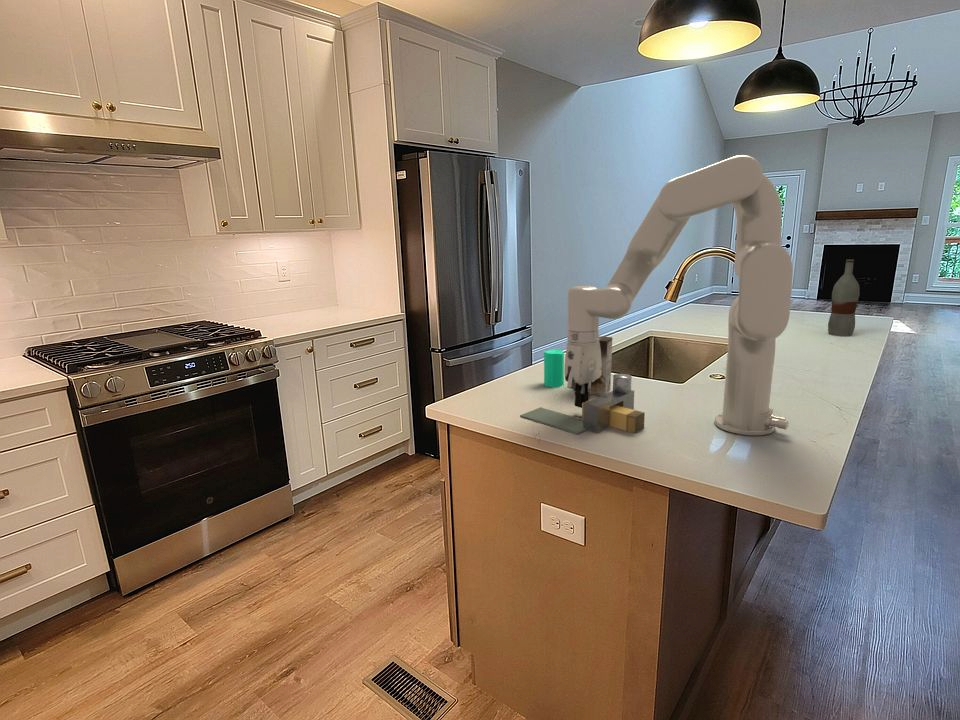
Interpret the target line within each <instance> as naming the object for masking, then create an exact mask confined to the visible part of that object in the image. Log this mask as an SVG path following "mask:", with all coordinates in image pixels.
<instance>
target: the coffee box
mask: <svg viewBox="0 0 960 720" xmlns="http://www.w3.org/2000/svg"><path fill="white" fill-rule="evenodd" d="M598 340H599V343H600V348H601V364H602V372H601V376H600V377H599V378H598V379H596V380H595V381H594V382H592V384H591V389H590V391H589V395H596V396H602V395H604V394H607V393H609V392H611V390H612V389H611V383H612V382H611V381H612V360H613V357H612V356H613V355H612V353H613V337H612V336H601V335H600V336H599V335H598Z"/></svg>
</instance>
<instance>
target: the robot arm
mask: <svg viewBox="0 0 960 720" xmlns="http://www.w3.org/2000/svg"><path fill="white" fill-rule="evenodd" d="M729 204H730V205H731V206H732V207H733V209H734V211H735V216H736V237H735V238H736V239H735V240H736V241H735V255H734V264H733V267H734V274H735V275H736V277H737V278H738V295H737V296H736V298H735V299H734V300H733V301H732V303H731V305H730V307H729V311H728V332H727V333H728V334H727V336H728V340H727V353H726V366H725V379H724V390H723V404H722V413H719V414H717V415H716V416H715V417H714V423H715V424H714V425H716V427H718V428H719V429H721V430H723V431H726V432H729V433H731V434H732V433H733V434H737V435H744V436H764V435H769V434H771V433H773V432H775V428H777V429H782V430H787V429H788V427H789V421H788V420H787V419H786V418H785V417H781V416H776V415H775V414H773V413H774V409H773V408H770V401H771V394H772V393H771V392H772V384H773V374H774V373H773V372H774V363H775V356H776V354H775V353H776V339H778V337H780V336H781V335H782V334H783V333H784V332H785V330H786V329H787V326H788V324H789V319H790V313H791V303H792V289H793V274H794V273H793V272H794V271H793V267H794V266H793V261H792V258H791V254H790V253H789V252H788V251H787V249H786V248H785V247H783V246H782V232H783V231H782V217H783V215H782V202H781V199H780V195H779V192H778V190H777V189H776V186H775V185H774V183H772V181H771V180H770V178H768V176H766V175H765V174H764V172H763V167H762V165H761V163H760V162H759V160H757V159H756V158H755V157H752V156H750V155H744V154H741V155H735V156H732V157H729V158H727V159H724V160H721V161H718V162H715V163H713V164H711V165H708V166H706V167H703V168H700V169H697V170H695V171H692V172H690V173H689V172H688V173H687V174H684V175H681V176H677V177H675V178H672V179H670V180H669V181H667V182H666V183H665V184H664V185H663V187H662V188H661V189H660V192H659V193H658V195H657V197H656V198H655V199H654V202H653V203H652V205H651V207H650V208H649V211H648V212H647V214H646V215H645V217H644V219H643V220H642V222H641V223H640V225H639V227H638V228H637V230H636V232H635V233H634V235H633V236H632V238H631V239H630V241H629V244H628V247H627V250H626V252H625V254H624V257H623V259H622V260H621V262H620V263H619V265H618V267H617V268H616V271H615V272H614V274H613V276H612V277H611V279H610V280H609V282H608V283H607V285H606V286H605V288H597V287H596V286H593V285H575V286H571V287H570V288H569V289H568V291H567V332H566V333H567V334H566V336H567V339H566V340H567V341H566V342H567V343H566V349H565V354H564V381H566V382H567V383H566V384H567V385H566V386H567V389H571V390H573V392H574V406H575V407H577V408H581V409H582V403H584V402H586V401H588V400H590V394H589V391H590V389H591V384H592V382H594V381H595V380H596V379H598V378H599V377H600V376H601V372H602V364H601V348H600V343H599V340H598V336H599V326H600V324H599V322H600V321H599V320H600V319H599V318H602V319H603V318H604V319H609V320H616V319H621V318H623V317H625V316H627V314H628V313H629V311H630V310H631V308H632V303H633V302H634V300H635V298H636V297H637V295H638V293H640V290H641V289H642V287H643V286H644V284H645V282H646V281H647V279H648V278H649V276H650V275H651V274H652V272H653V271H655V269H656V268H657V267H658V266H659V265H660V264H661V263H662V262H663V260H664V259H665V258H666V256H667V254H668V253H669V252H670V250H671V248H672V246H673V245H674V243H675V242H676V240H677V239H678V237H679V236H680V234H681V233H682V231H683V229H684V228H685V226H686V225H687V223H688V222H689V220H690V218H691V217H693V216H697V215H700V214H702V213H706V212H709V211H712V210H715V209H718V208H720V207H724V206H726V205H729Z"/></svg>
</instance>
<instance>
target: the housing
mask: <svg viewBox="0 0 960 720" xmlns="http://www.w3.org/2000/svg"><path fill="white" fill-rule="evenodd" d="M591 399H592V400H591ZM591 399H589V400H590V401H588V402H585V403H583V418H582V419H583V428H586V429H587V430H586V431H589V432H591V433H595V434H599V433H601V432H602V431H605V430H607V429H608V428H610V426H609V417H610V406H613V405H617V406H621V407H625V408H629V409H633V410H635V409H634V408H635V390H633V389H632V375H631V374H628V373H616V374H614V375H613V376H612V391H611V390H610V391H609V392H608V393H607V394H604V395H599V396H598V397H595V398H591Z"/></svg>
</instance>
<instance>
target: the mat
mask: <svg viewBox="0 0 960 720" xmlns="http://www.w3.org/2000/svg"><path fill="white" fill-rule="evenodd" d="M520 418H523V419H526V420H530V421H533V422H537V423H539V424H543V425H545V426H549V427H553V428H555V429H559V430H562V431H565V432H568V433H572V434H575V435H580V434H581V433H583V432H586V431H588V430H587V429H586V428H583V418H580V417H576V416H573V415H569V414H566V413H561V412H558V411H555V410H552V409H549V408H544V407H538V408H535V409H533V410H530V411H528V412H525V413H522V414H520Z"/></svg>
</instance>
